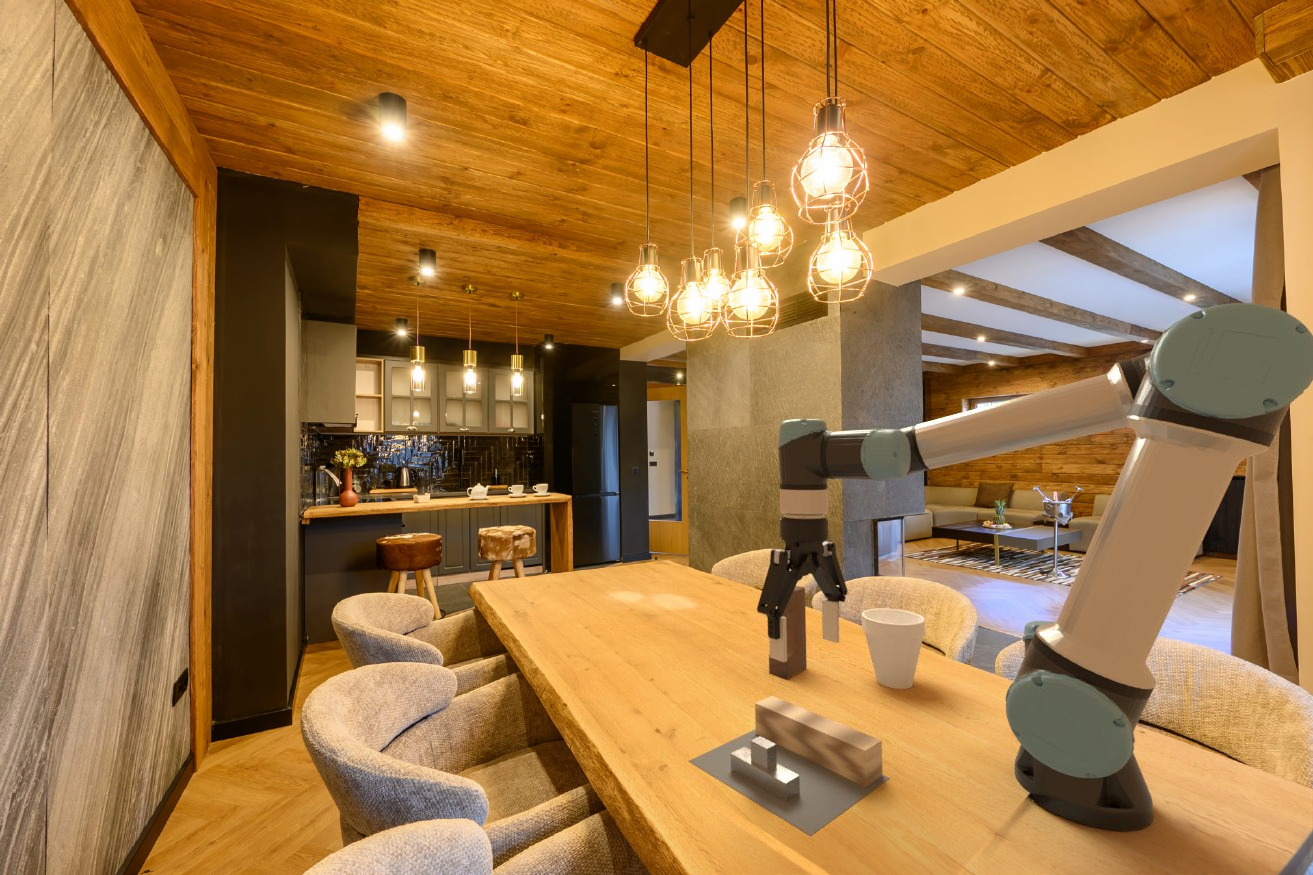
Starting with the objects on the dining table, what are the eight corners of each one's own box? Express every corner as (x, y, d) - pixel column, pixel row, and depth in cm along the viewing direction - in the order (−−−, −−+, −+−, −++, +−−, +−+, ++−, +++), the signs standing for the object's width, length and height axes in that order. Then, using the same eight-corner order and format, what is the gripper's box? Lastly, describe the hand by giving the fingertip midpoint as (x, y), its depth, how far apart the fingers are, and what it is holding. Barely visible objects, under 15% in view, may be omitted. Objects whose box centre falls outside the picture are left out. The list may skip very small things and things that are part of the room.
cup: (850, 676, 119) (848, 612, 120) (893, 667, 124) (891, 605, 125) (895, 699, 108) (893, 627, 108) (941, 688, 113) (939, 620, 113)
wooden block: (787, 680, 118) (785, 594, 118) (768, 675, 121) (766, 591, 121) (807, 668, 124) (805, 586, 125) (789, 663, 127) (787, 584, 128)
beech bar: (882, 775, 80) (881, 740, 80) (866, 787, 77) (865, 750, 78) (772, 725, 96) (772, 695, 96) (755, 733, 93) (755, 703, 93)
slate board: (890, 785, 80) (890, 778, 80) (810, 844, 68) (810, 835, 68) (769, 728, 97) (769, 722, 97) (688, 767, 85) (688, 761, 85)
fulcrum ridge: (799, 794, 76) (799, 753, 76) (786, 802, 74) (785, 760, 74) (744, 763, 84) (744, 726, 84) (730, 770, 82) (730, 732, 82)
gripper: (829, 509, 100) (831, 628, 99) (732, 519, 85) (734, 661, 84) (867, 512, 94) (870, 638, 93) (771, 523, 79) (773, 676, 78)
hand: (805, 649), depth 89 cm, fingers open, 13 cm apart
